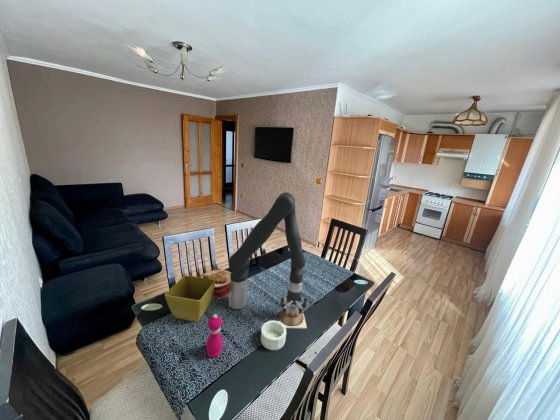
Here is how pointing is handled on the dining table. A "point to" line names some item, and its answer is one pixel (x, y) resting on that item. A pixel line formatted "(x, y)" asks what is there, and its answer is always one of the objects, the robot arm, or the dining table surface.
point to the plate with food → (218, 279)
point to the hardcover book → (222, 294)
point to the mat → (302, 325)
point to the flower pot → (190, 297)
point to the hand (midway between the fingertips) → (292, 312)
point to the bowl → (273, 335)
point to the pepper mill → (214, 337)
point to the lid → (291, 317)
